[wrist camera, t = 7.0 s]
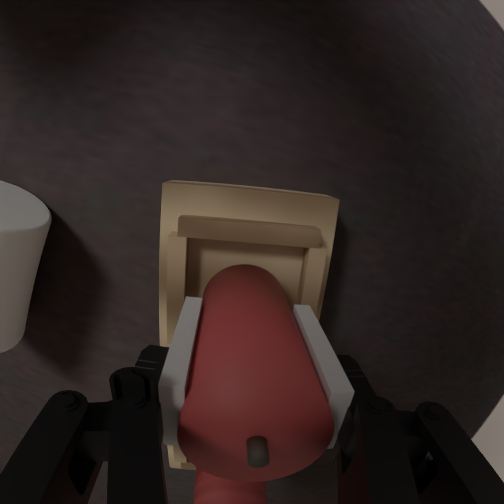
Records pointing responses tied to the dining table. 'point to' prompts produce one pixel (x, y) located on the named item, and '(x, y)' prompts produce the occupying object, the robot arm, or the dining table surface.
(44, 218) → the mug
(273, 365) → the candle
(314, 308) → the oak candlestand
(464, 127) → the dining table surface
